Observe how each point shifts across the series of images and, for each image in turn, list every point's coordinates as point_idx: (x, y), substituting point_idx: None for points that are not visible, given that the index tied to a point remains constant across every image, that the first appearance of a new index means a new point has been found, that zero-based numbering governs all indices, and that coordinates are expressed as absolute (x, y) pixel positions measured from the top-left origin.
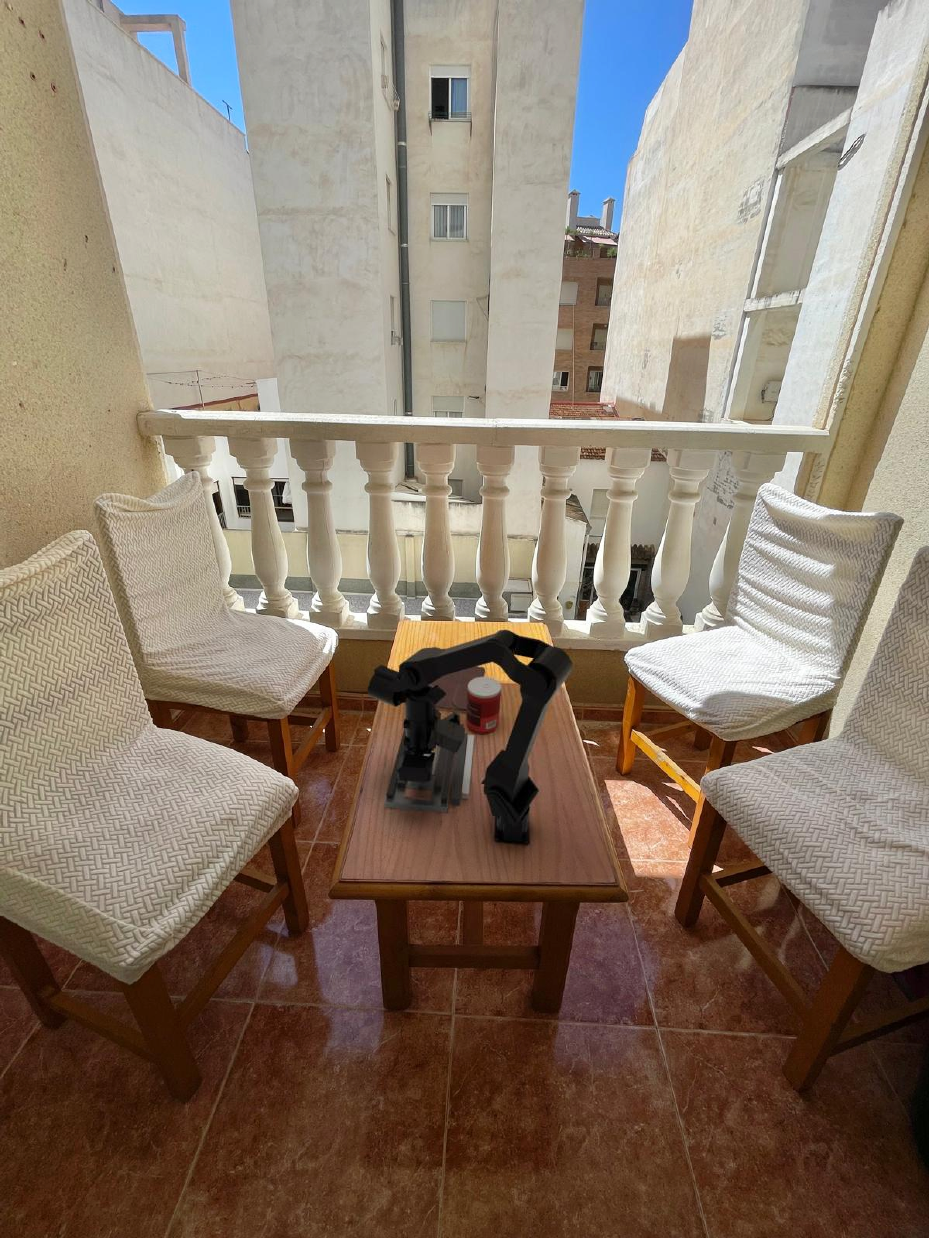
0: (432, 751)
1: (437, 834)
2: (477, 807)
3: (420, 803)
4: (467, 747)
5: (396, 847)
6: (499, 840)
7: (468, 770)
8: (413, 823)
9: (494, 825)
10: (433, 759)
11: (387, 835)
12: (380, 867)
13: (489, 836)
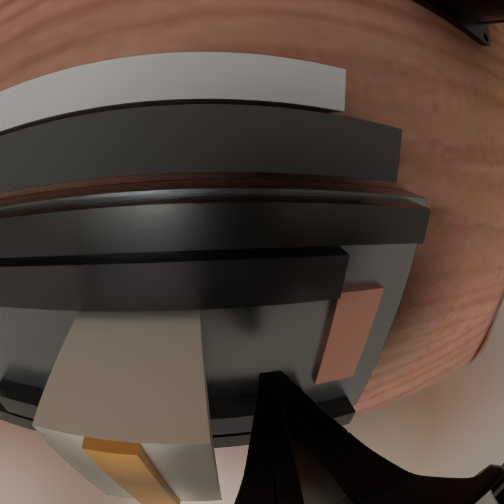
0: (152, 454)
1: (465, 219)
2: (373, 44)
3: (391, 314)
4: None
5: (461, 315)
6: (486, 32)
7: (117, 74)
8: (419, 300)
9: (446, 17)
10: (494, 483)
11: (429, 345)
12: (479, 325)
13: (471, 50)
